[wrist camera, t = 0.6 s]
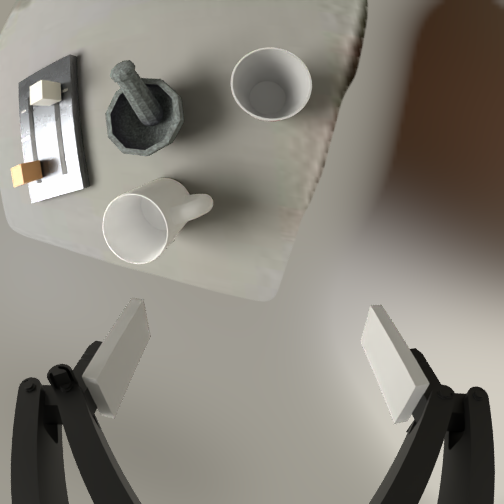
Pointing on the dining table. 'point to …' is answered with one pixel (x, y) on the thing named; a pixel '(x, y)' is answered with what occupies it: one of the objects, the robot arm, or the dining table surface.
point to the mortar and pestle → (142, 112)
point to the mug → (150, 219)
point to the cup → (271, 84)
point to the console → (54, 133)
